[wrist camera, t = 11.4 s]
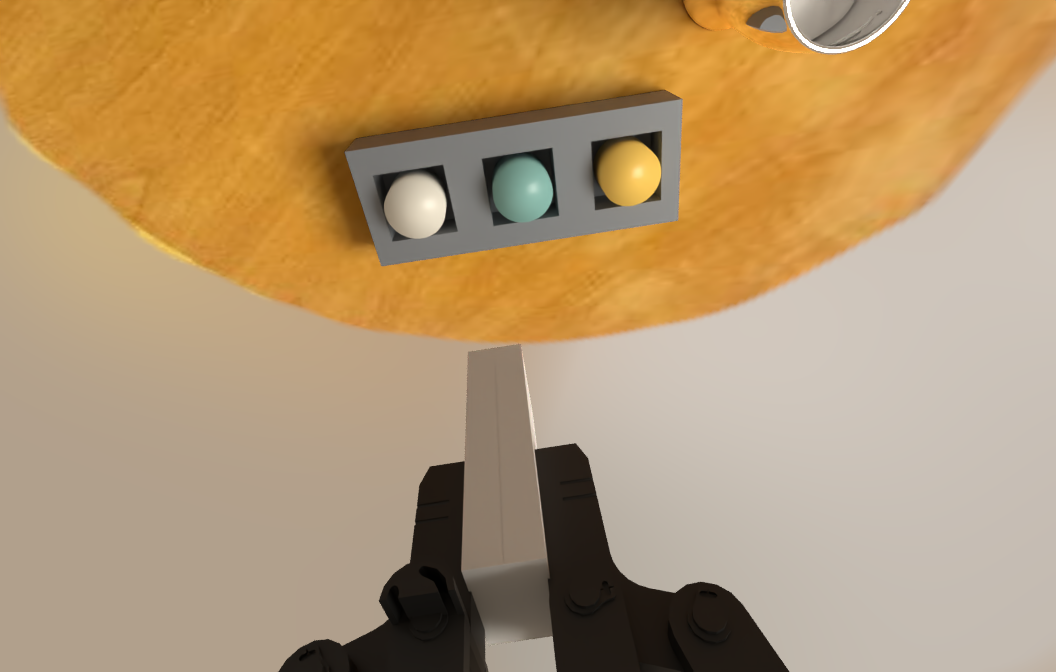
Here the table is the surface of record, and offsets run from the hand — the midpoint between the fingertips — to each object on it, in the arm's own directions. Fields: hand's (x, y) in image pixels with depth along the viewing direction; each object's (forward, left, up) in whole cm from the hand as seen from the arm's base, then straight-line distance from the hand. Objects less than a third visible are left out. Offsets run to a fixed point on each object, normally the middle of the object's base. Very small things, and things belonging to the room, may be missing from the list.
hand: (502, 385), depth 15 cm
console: (+2, -3, -30) cm, 31 cm away
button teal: (+2, -3, -29) cm, 29 cm away
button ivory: (-6, -3, -29) cm, 29 cm away
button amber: (+10, -3, -29) cm, 30 cm away
